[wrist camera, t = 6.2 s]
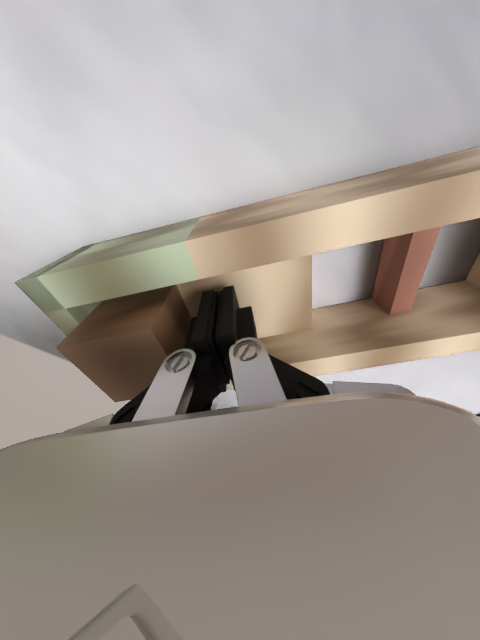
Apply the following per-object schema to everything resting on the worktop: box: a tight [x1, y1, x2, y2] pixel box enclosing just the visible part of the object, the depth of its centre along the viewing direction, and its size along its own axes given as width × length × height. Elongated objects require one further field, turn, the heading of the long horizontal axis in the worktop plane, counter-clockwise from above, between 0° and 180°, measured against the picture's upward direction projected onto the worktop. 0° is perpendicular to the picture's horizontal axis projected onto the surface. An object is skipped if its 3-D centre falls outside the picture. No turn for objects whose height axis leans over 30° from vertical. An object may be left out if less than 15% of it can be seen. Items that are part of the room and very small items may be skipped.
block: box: [56, 285, 192, 402], centre depth 10 cm, size 4×4×4 cm
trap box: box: [14, 147, 480, 400], centre depth 11 cm, size 24×9×4 cm, turn 102°
